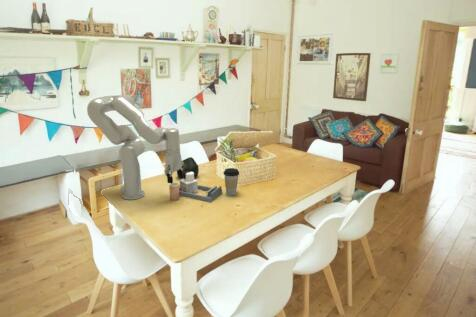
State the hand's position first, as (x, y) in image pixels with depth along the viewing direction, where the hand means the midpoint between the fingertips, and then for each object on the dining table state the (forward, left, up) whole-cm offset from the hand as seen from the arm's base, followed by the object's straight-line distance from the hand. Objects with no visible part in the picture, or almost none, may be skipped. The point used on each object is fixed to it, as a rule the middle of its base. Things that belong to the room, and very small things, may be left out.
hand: (175, 180), depth 181 cm
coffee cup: (+25, +21, -12) cm, 35 cm away
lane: (+7, +12, -12) cm, 18 cm away
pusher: (+17, +12, -11) cm, 24 cm away
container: (+1, +12, -12) cm, 17 cm away
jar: (-1, 0, -12) cm, 12 cm away
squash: (-13, +33, -12) cm, 37 cm away
